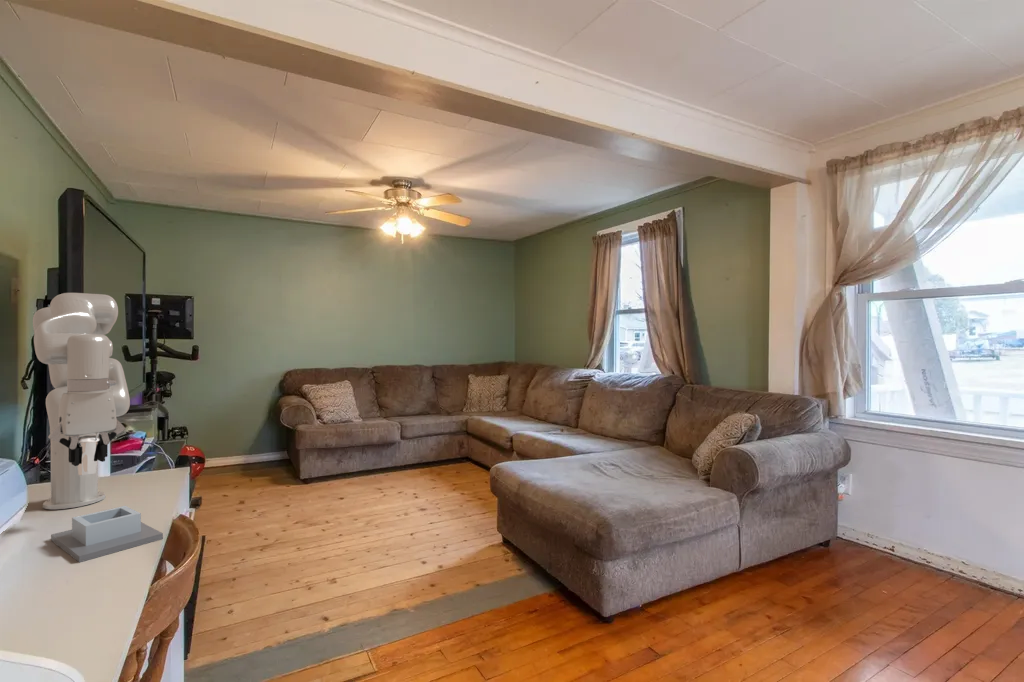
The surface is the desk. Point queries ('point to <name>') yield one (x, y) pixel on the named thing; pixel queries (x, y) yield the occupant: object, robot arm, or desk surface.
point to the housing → (105, 533)
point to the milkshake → (88, 454)
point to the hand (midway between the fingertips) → (88, 462)
